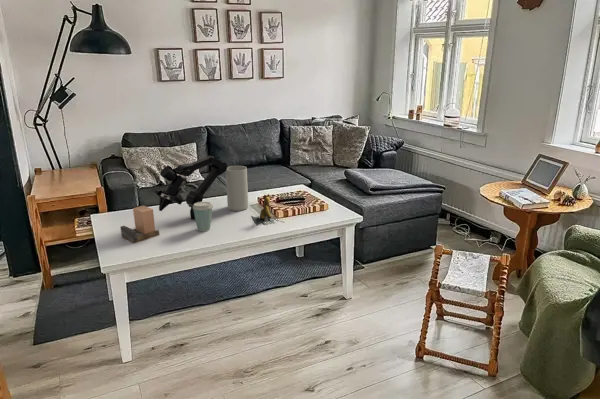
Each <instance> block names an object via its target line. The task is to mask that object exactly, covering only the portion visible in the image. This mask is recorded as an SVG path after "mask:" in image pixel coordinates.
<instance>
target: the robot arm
mask: <svg viewBox="0 0 600 399" xmlns="http://www.w3.org/2000/svg"><path fill="white" fill-rule="evenodd" d="M209 165H210V171H209V173H208V175H206V176H205V178H204V179H203V181H202V182H201V183H200V185H199V186H198V187H197V188H196V189H195V190H190V191H189V193H188V194H187V195H186V198H185V202H186V203H185V204H186V205H188V207H189V208H190V210H189V217H190V220H195V215H194V210H193V205H194V204H195V203H198V202H203V199H204V198H203V197H204V195H205V193H206V192H207V191H208V190H209V188H210V187H211V185H212V184H213V183H214V182H215V180H216V179H217V178H218V177H219V176H221V175H223V174H224V173H226V170H227V167H228V164H227V162H225V161H221V160H219V159H218V158H216V157H214V156H213V155H212V156H211V155H207V156H205V157H203V158H201V159H198V160H196V161H192V162H190V163H182V164H179V165H177V166H176V167H175V168H172V167H171V165H166V166H165V167H163V169H161V170H160V173H159V174H160V176H161V177H162V178H163V179H165V180H166V181H168V182H170V183H167V184H166V186H167V187H166V189H165V190H163V191H162V190H160V189H158V188H157V189H155V190H154V192H153V193H154V195H156V196H158V198H159V203H158V204H159V206H158V211H159V212H162V211H163V210H164V209H166V207H168V206H169V205H172V204H173V205H174V204H178V205H182V203H183V201H184V198H183V196H182V195H181V194H180V192H181V190H180V189H181V187H182V185H183V183H186V184H187V183H188V180H187V177H189V176H191V175H192V174H194V172H195V171H197V170H199V169H202V168H204V167H207V166H209Z"/></svg>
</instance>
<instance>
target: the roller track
mask: <svg viewBox="0 0 600 399" xmlns="http://www.w3.org/2000/svg"><path fill="white" fill-rule="evenodd" d="M120 232H121V238H122V239H124V240H126V241H128V242H130V243H131V244H137V243H139V242H143V241H147V240H149V239H151V238H155V237H158V236H160V230H155V231H154V232H151V233H147V234H143V233H141V232H139V231H137V230H136V229H135V228H130V227H129V226H126V225H122V226H120Z"/></svg>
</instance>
